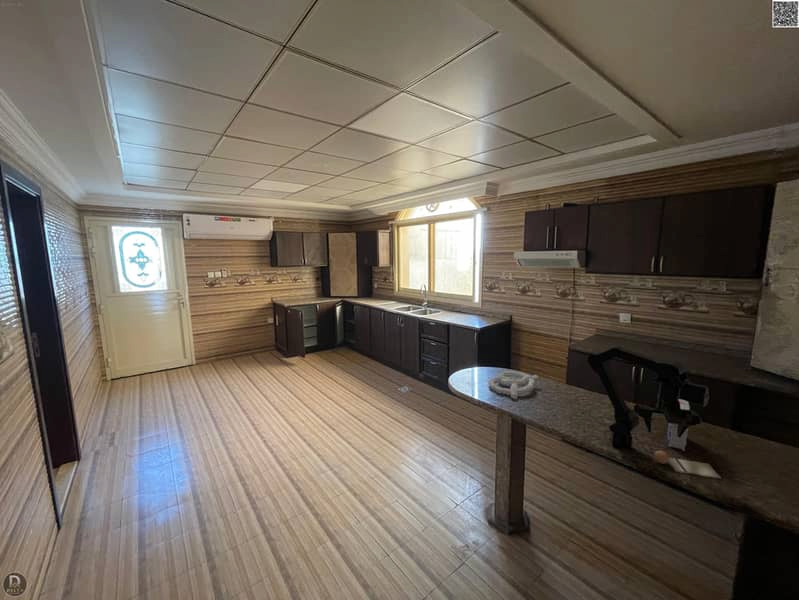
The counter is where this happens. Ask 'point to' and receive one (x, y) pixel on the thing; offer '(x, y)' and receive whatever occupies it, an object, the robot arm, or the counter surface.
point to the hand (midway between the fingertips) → (663, 434)
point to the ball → (661, 457)
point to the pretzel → (513, 383)
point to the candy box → (672, 431)
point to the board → (693, 468)
